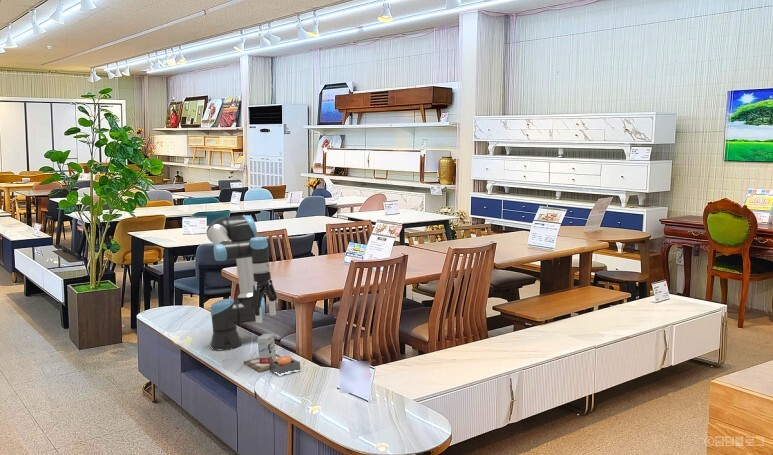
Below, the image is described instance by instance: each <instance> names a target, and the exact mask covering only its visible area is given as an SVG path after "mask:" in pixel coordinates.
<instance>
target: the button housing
mask: <svg viewBox="0 0 773 455" xmlns="http://www.w3.org/2000/svg"><path fill="white" fill-rule="evenodd" d="M269 367H270V370H269V372H270V373H273V374H274V372H277V373H279V374H281V373H285V372H288V371H294V370H300V369H301V362H300V361H298V360H296V359H294V358H292V357H291V363H290V364H286V365H282V366H280V365H278V364H277V361H273V362H269Z"/></svg>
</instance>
